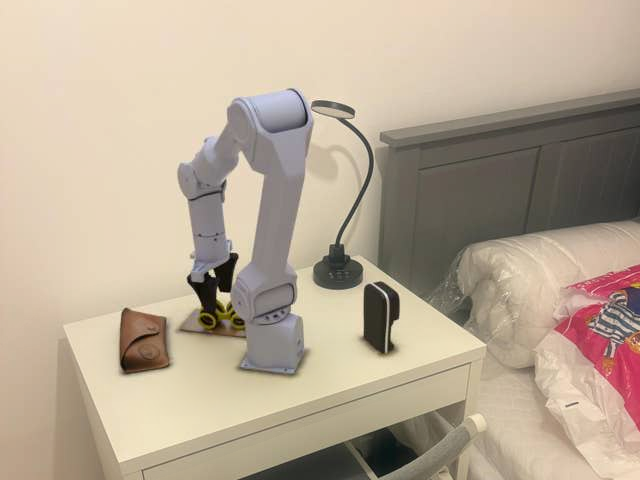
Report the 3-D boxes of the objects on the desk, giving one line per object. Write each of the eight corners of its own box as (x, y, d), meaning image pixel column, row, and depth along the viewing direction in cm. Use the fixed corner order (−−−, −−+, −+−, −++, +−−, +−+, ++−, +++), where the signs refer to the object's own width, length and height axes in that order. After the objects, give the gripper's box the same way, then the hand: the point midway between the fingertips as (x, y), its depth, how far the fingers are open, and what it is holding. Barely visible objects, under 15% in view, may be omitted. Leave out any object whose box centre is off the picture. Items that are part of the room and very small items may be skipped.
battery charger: (400, 350, 115) (403, 291, 108) (382, 356, 113) (384, 297, 107) (379, 332, 120) (381, 275, 113) (361, 338, 118) (362, 280, 112)
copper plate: (259, 317, 126) (259, 315, 126) (245, 337, 119) (245, 336, 119) (197, 310, 128) (197, 309, 128) (180, 330, 122) (180, 329, 122)
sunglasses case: (172, 364, 112) (146, 338, 108) (140, 387, 112) (113, 362, 109) (166, 315, 126) (143, 290, 122) (138, 336, 127) (114, 312, 123)
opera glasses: (199, 332, 122) (194, 312, 119) (203, 314, 126) (199, 294, 122) (250, 332, 122) (247, 312, 118) (253, 314, 125) (250, 294, 122)
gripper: (203, 214, 120) (212, 282, 128) (169, 245, 108) (181, 317, 116) (239, 217, 118) (246, 285, 126) (209, 248, 107) (218, 321, 115)
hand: (217, 301), depth 121 cm, fingers open, 7 cm apart
